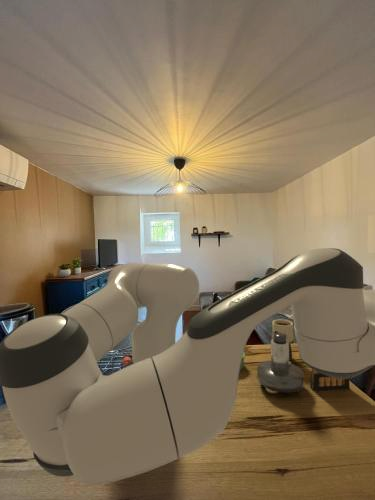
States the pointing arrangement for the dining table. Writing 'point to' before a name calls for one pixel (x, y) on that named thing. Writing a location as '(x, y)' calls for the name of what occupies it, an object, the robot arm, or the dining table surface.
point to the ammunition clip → (327, 382)
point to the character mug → (284, 331)
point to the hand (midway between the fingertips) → (289, 289)
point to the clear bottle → (279, 354)
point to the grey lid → (280, 379)
